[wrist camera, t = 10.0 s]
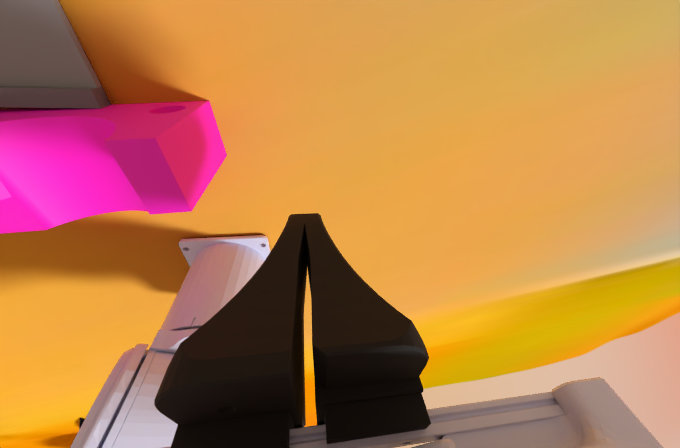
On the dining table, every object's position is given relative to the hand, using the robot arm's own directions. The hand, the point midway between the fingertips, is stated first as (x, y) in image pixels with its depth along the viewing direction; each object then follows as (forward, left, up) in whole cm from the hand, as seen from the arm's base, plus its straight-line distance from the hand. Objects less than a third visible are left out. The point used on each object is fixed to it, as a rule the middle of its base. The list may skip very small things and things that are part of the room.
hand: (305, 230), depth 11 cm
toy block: (0, +13, -10) cm, 17 cm away
